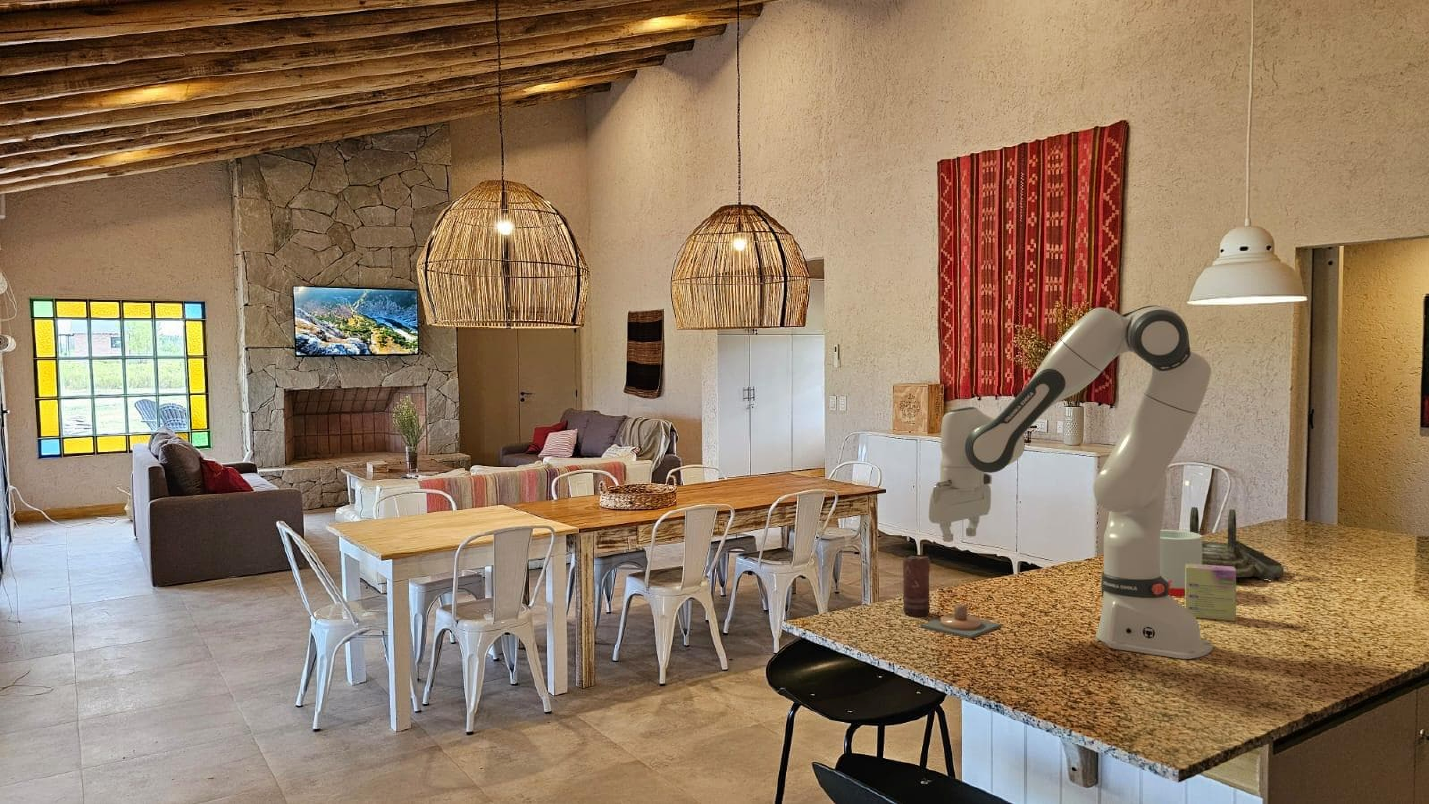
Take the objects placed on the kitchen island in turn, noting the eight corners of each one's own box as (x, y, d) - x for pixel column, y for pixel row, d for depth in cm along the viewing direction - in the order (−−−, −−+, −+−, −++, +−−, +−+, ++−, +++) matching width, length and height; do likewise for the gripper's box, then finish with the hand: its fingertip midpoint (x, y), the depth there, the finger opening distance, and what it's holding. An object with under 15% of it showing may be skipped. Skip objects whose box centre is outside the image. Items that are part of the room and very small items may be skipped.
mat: (1001, 626, 216) (1001, 624, 216) (970, 638, 207) (970, 635, 207) (952, 616, 225) (952, 614, 225) (920, 627, 216) (920, 624, 216)
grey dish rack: (1161, 555, 294) (1161, 497, 294) (1288, 566, 274) (1288, 504, 274) (1136, 576, 266) (1136, 512, 265) (1275, 590, 246) (1275, 521, 245)
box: (1234, 615, 222) (1234, 565, 221) (1236, 621, 216) (1236, 570, 216) (1184, 611, 226) (1184, 562, 226) (1185, 617, 221) (1185, 567, 220)
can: (930, 617, 225) (930, 559, 224) (903, 616, 226) (902, 558, 226) (930, 611, 231) (929, 554, 230) (903, 610, 232) (903, 553, 231)
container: (1139, 594, 243) (1138, 538, 243) (1135, 581, 258) (1135, 528, 258) (1208, 599, 238) (1208, 541, 237) (1200, 585, 252) (1200, 530, 252)
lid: (988, 624, 216) (988, 605, 216) (967, 632, 210) (967, 613, 210) (954, 617, 222) (954, 599, 222) (932, 624, 216) (932, 606, 216)
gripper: (946, 483, 206) (945, 547, 206) (996, 475, 220) (995, 534, 220) (921, 481, 210) (921, 542, 211) (972, 473, 224) (971, 531, 225)
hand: (959, 538), depth 216 cm, fingers open, 8 cm apart
